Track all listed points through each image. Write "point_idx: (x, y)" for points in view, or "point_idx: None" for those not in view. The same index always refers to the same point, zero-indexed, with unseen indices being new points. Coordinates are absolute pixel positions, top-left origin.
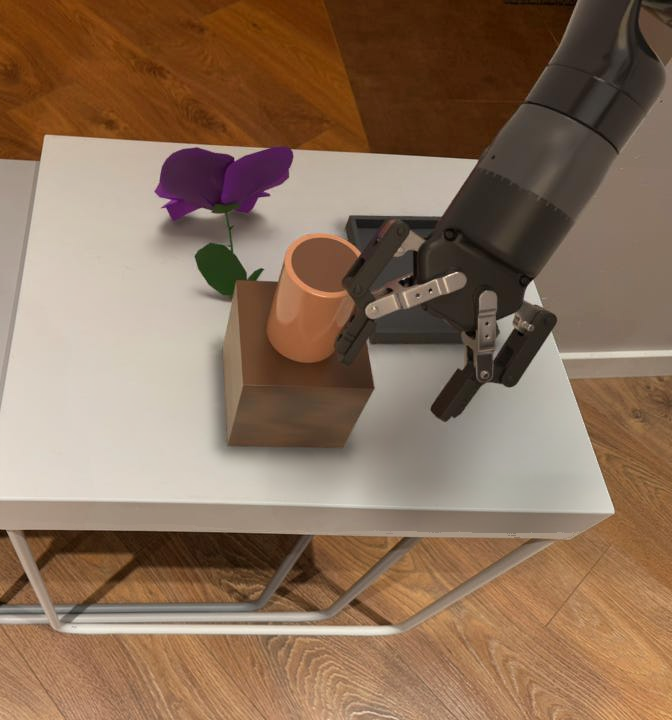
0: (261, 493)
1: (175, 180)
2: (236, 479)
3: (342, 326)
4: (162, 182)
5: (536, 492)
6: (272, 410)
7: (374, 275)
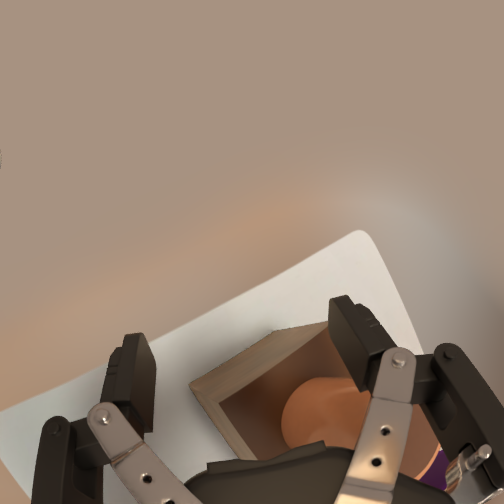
0: (231, 305)
1: (437, 460)
2: (254, 306)
3: (318, 421)
4: (442, 451)
5: (21, 418)
6: (283, 342)
7: (463, 387)
